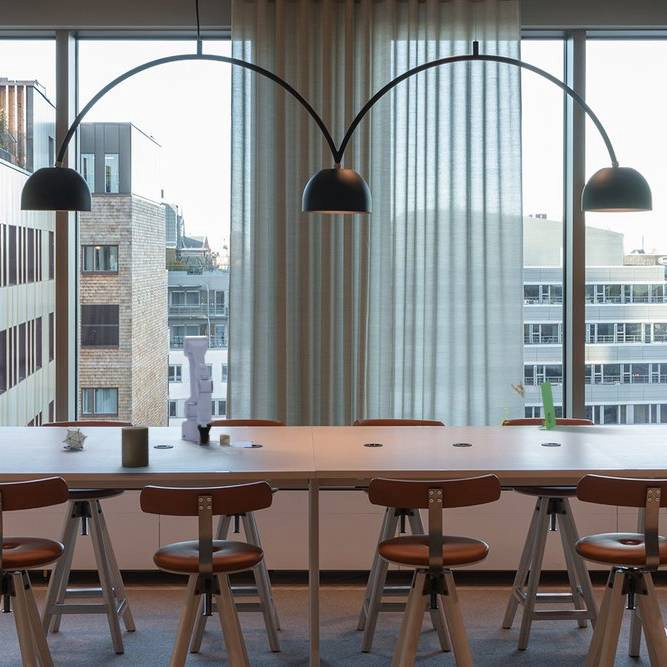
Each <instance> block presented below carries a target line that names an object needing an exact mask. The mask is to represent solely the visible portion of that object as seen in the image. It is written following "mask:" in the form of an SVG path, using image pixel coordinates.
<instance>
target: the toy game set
mask: <svg viewBox="0 0 667 667" xmlns="http://www.w3.org/2000/svg"><path fill="white" fill-rule="evenodd" d="M511 387H512V388H513V389H514V390H515V391H516V392H518V394H520V398H521V399H525V398H526V390H525V389H524V387H523V382H522V380H521V379H520V381H519V384H517V387H515V386H514V385H513V383H511ZM506 388H509V386H506ZM540 391H541V397H542V406H543V407H542V408H543V414H544V420H542V421H541V423H542V424H541V425H540V426H538V427H536V428H537V429H542V428H545V429H546V431H548V430H550V429H553V428H554V427H555V426H557V422H556V414H555V406H554V400H553V399H554V398H553V391H552V384H551V380H548V381H545V382H541V383H540ZM499 403H500V404H502V403H503V405H507V404H509V402H505V401H500V402H499ZM509 409H510V408H509V407H508V408H504V410H505V411H504V413H505V414H509V413H511V411H508V410H509ZM502 420H504V421H503V422H504V424H507V423H508V424H510V421H509V420H511V419H510V418H506V417H505V418H503V417H502ZM498 422H499V423H500V422H501V420H499V421H498ZM503 426H504V425H503V424H501V425H498V427H503Z"/></svg>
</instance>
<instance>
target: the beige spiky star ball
mask: <svg viewBox="0 0 667 667" xmlns="http://www.w3.org/2000/svg"><path fill="white" fill-rule="evenodd" d="M66 430H67V435H66V437H65V439H64V440H63V441H62V443H66V445H68V446H69V447H70V450H71V451H72V450H73V449H79V448H80V449H82V450H83V449H84V447H83V446H84V443H85V440H86V439H87V438H88V437H89V436H88V435H85V434H83V433H82V431H81V429H80V428H77V430H69V429H66Z"/></svg>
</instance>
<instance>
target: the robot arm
mask: <svg viewBox="0 0 667 667" xmlns="http://www.w3.org/2000/svg"><path fill="white" fill-rule="evenodd" d="M182 340H183V343H182V344H183V345H182V346H183V348H182V349H183V356H184V357H186V358H188V365H189V366H188V369H189V370H188V371H189V388H190V390H189V391H190V393H189V394H190V396H189V397H187V398H186V399H185V400H184V403H183V404H184V405H183V406H184V407H183V417H184V418H185V419H183V421H182V423H181V439H180V440H181V441H192V442H193V441H197V442H200V439H199V436H200V437H201V442H202V444H207V442H208V435H209V434H210V432H211V429H212V423H214V422H216V421H215V419H213V418H212V417H213V416H212V415H213V414H212V412H213V410H212V409H213V406H212V405H213V404H212V403H213V402H212V400H213V398H212V396H213V395H212V394H213V393H214V380H213V379H212V377H211V374H210V370H209V366H208V365H206V361H205V360H206V359H205V356H206V354H207V352H208V350H209V338H208V336H207V335H189V336H188V335H185V336H184V337H183V339H182Z"/></svg>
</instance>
